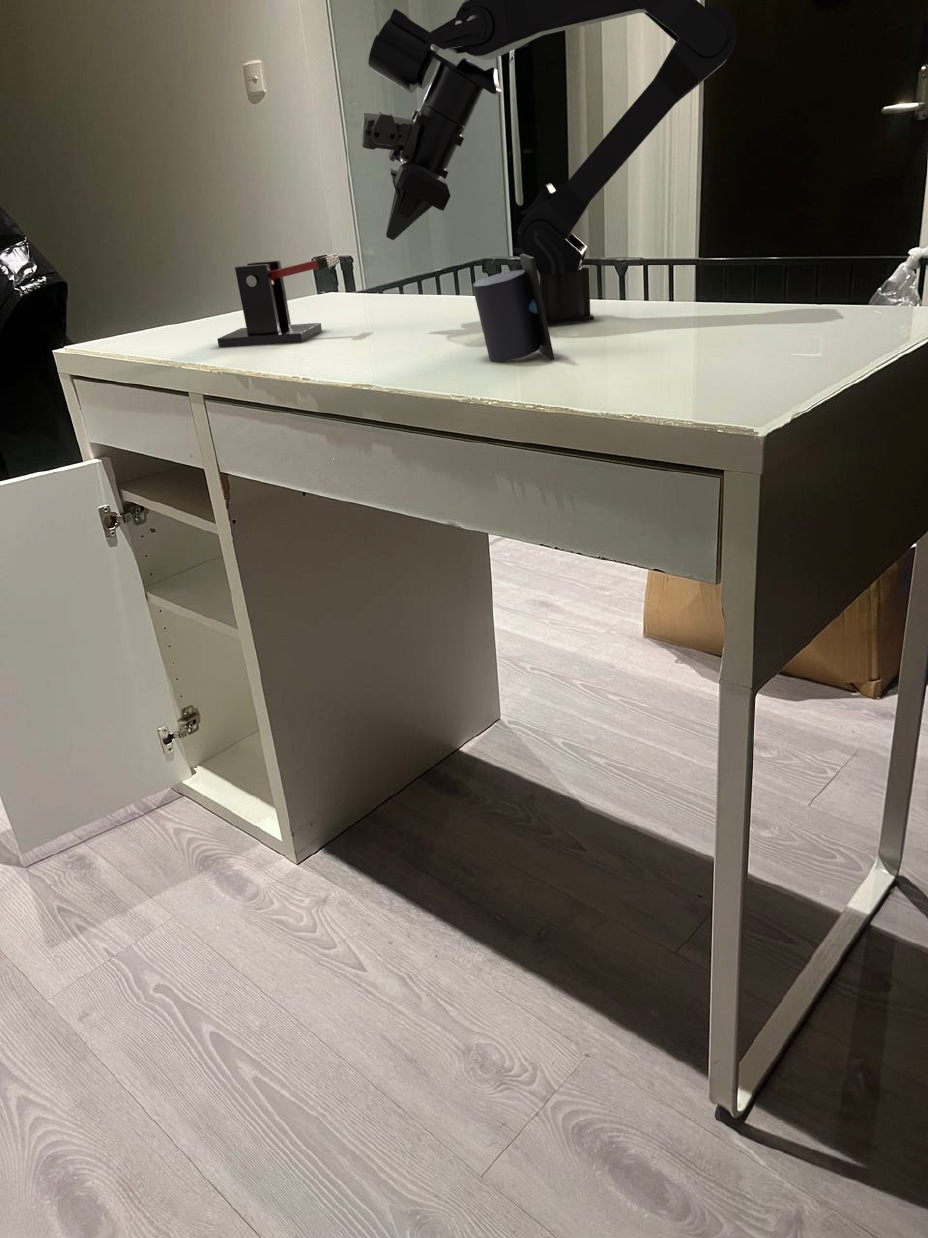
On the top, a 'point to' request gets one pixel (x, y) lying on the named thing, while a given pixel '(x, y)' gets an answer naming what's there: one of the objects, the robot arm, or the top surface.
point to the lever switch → (265, 310)
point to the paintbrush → (306, 266)
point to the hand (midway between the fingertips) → (389, 237)
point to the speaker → (513, 313)
